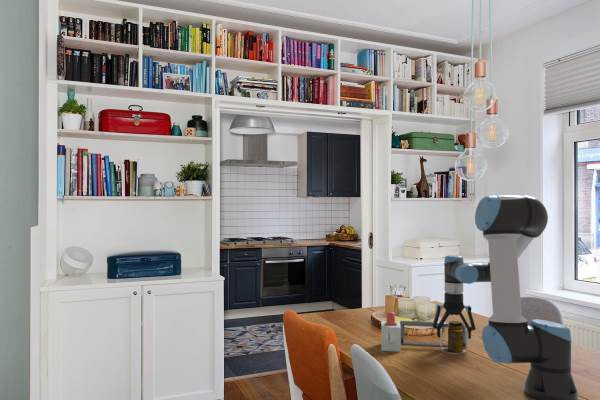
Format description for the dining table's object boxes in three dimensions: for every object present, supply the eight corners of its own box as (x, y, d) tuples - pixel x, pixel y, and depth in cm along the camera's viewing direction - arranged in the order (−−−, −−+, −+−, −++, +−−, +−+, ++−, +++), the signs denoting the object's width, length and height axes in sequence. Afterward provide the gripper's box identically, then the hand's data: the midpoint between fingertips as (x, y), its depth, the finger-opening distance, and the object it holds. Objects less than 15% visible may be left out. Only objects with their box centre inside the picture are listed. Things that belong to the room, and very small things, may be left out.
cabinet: (400, 352, 197) (400, 328, 197) (381, 351, 199) (381, 327, 199) (399, 344, 208) (399, 321, 208) (381, 343, 209) (381, 321, 209)
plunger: (395, 334, 202) (395, 313, 202) (386, 334, 202) (386, 313, 202) (394, 332, 205) (394, 311, 205) (386, 332, 206) (386, 311, 206)
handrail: (465, 345, 206) (465, 322, 207) (466, 347, 204) (466, 324, 204) (399, 342, 211) (399, 319, 211) (399, 344, 208) (399, 321, 208)
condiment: (467, 351, 198) (467, 322, 199) (454, 355, 194) (454, 325, 194) (453, 347, 205) (453, 319, 205) (440, 350, 200) (440, 322, 200)
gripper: (479, 291, 201) (479, 344, 201) (425, 289, 205) (425, 341, 205) (483, 295, 194) (483, 349, 194) (427, 293, 198) (427, 346, 197)
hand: (453, 345), depth 199 cm, fingers open, 10 cm apart
